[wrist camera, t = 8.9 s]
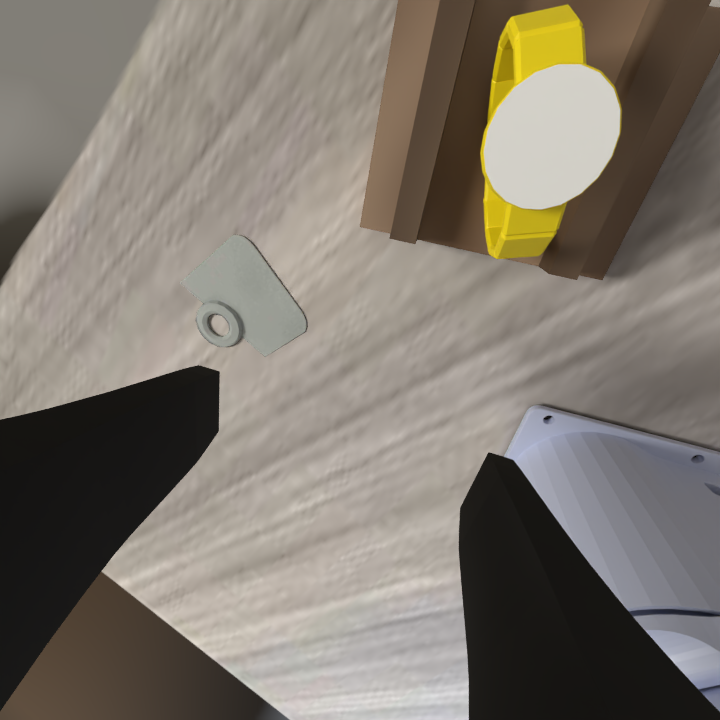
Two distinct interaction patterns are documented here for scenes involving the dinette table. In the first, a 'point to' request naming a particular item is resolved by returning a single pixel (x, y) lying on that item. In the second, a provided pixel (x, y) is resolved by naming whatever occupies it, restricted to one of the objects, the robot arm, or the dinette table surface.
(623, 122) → the rack
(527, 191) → the watch
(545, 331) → the dinette table surface
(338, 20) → the dinette table surface
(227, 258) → the mounting bracket
